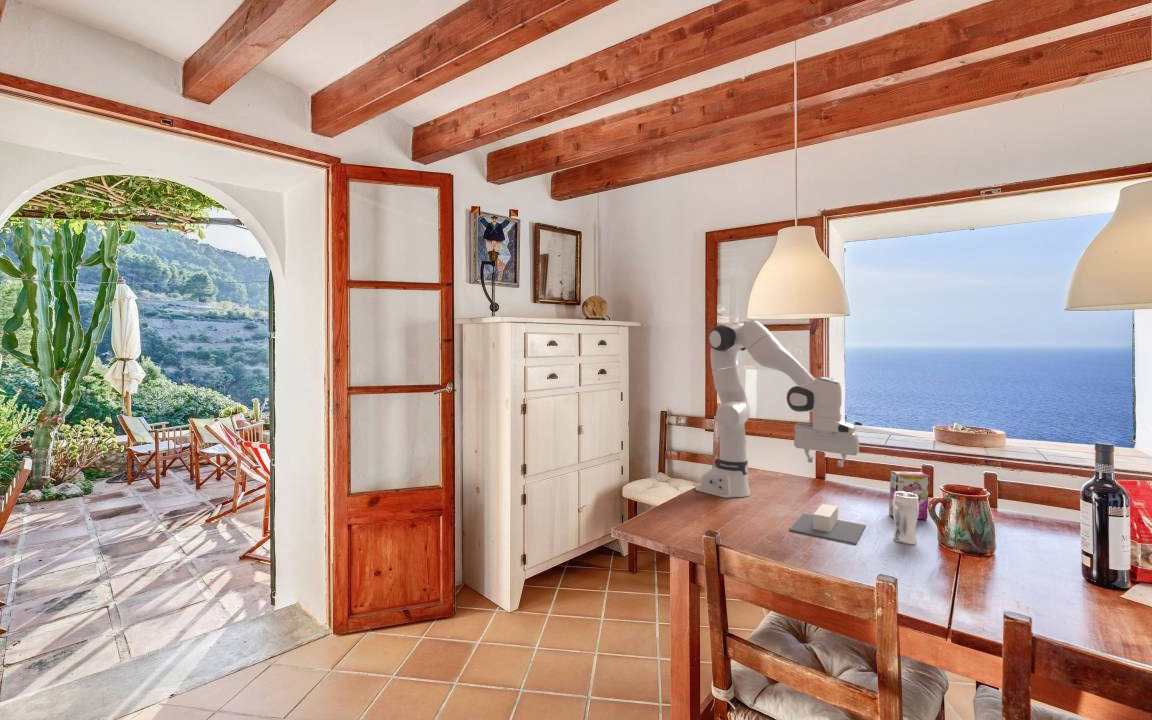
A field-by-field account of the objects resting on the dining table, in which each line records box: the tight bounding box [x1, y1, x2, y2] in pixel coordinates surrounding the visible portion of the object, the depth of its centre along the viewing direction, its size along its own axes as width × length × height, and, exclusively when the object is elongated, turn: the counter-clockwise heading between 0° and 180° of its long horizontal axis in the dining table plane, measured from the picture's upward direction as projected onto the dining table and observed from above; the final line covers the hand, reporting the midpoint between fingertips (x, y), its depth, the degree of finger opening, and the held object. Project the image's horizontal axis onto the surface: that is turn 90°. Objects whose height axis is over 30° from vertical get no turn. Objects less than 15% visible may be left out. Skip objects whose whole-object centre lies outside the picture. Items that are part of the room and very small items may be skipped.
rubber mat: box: [788, 513, 866, 546], centre depth 176 cm, size 20×20×1 cm
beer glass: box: [893, 492, 919, 546], centre depth 165 cm, size 7×7×15 cm
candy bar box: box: [888, 470, 930, 521], centre depth 187 cm, size 11×5×16 cm, turn 84°
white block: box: [813, 503, 839, 532], centre depth 178 cm, size 5×5×14 cm
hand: (825, 464), depth 178 cm, fingers open, 8 cm apart
